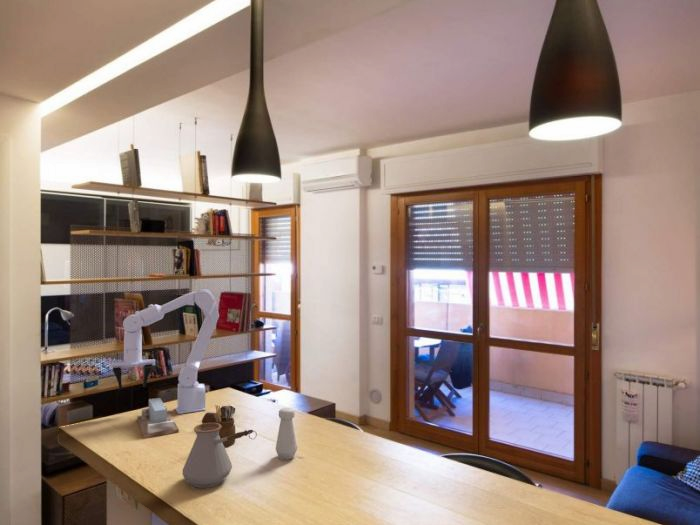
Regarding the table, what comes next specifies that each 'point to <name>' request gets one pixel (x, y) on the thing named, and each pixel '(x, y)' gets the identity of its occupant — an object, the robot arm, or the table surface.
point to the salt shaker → (286, 435)
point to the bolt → (213, 416)
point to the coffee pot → (209, 456)
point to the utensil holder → (226, 426)
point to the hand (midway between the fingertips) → (132, 387)
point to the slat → (157, 411)
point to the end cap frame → (156, 425)
